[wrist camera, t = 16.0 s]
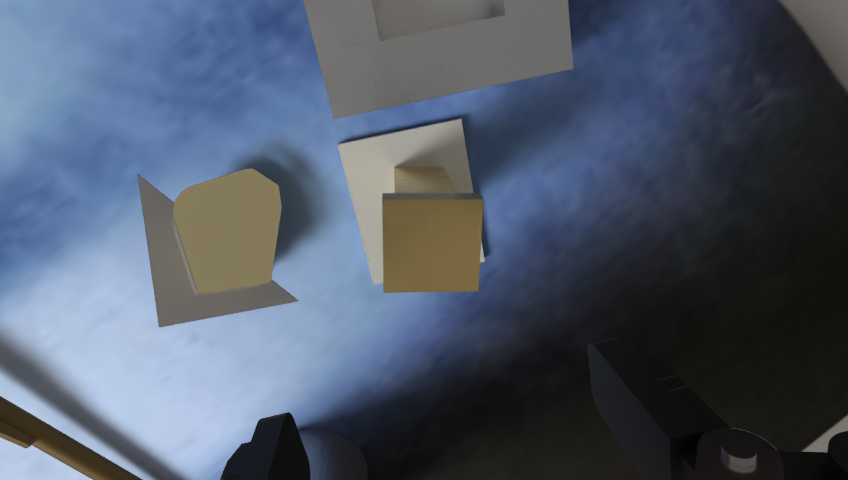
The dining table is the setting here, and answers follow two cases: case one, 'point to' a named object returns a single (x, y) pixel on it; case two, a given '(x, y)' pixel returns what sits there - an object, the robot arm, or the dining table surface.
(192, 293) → the stacked layers on plate
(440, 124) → the mat
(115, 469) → the panzerfaust rocket launcher
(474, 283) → the capped wooden post
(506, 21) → the block
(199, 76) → the dining table surface
